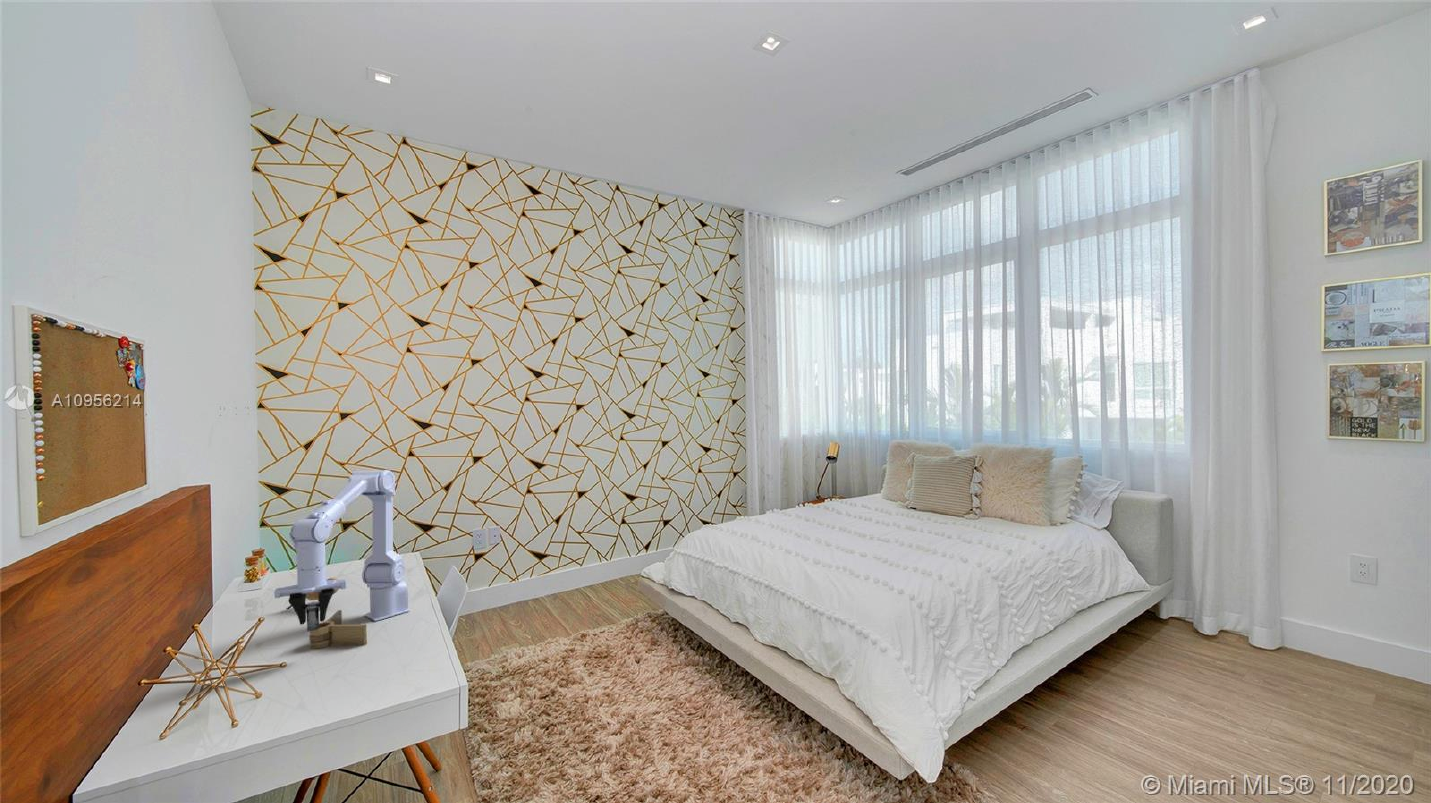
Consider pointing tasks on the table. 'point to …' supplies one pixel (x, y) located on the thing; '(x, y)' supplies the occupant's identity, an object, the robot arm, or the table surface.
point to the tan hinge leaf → (340, 635)
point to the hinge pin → (312, 615)
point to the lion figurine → (315, 594)
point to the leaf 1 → (337, 621)
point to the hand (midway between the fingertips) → (312, 621)
